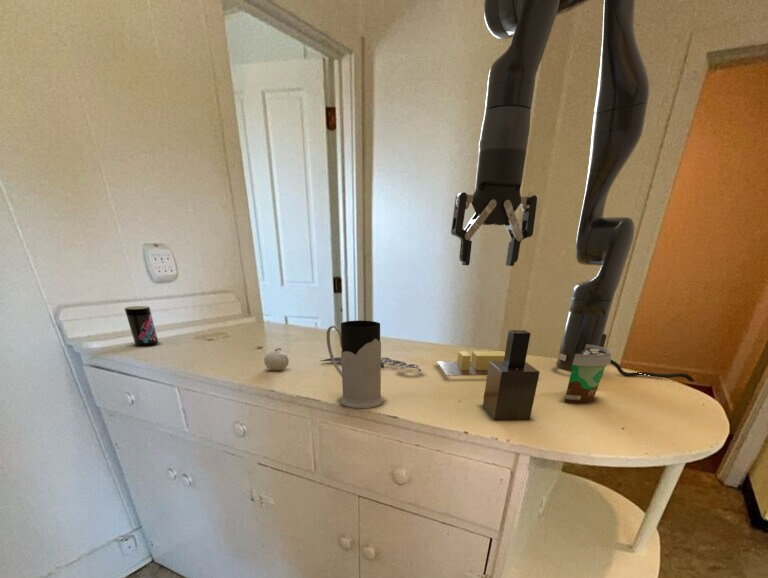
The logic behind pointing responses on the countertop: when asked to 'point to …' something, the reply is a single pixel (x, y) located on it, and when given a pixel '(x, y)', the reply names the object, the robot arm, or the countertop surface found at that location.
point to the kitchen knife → (516, 349)
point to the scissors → (385, 361)
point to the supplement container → (141, 325)
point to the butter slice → (463, 360)
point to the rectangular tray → (454, 370)
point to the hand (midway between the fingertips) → (487, 265)
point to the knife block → (510, 391)
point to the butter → (485, 358)
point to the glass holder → (359, 363)
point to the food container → (587, 374)
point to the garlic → (276, 360)
